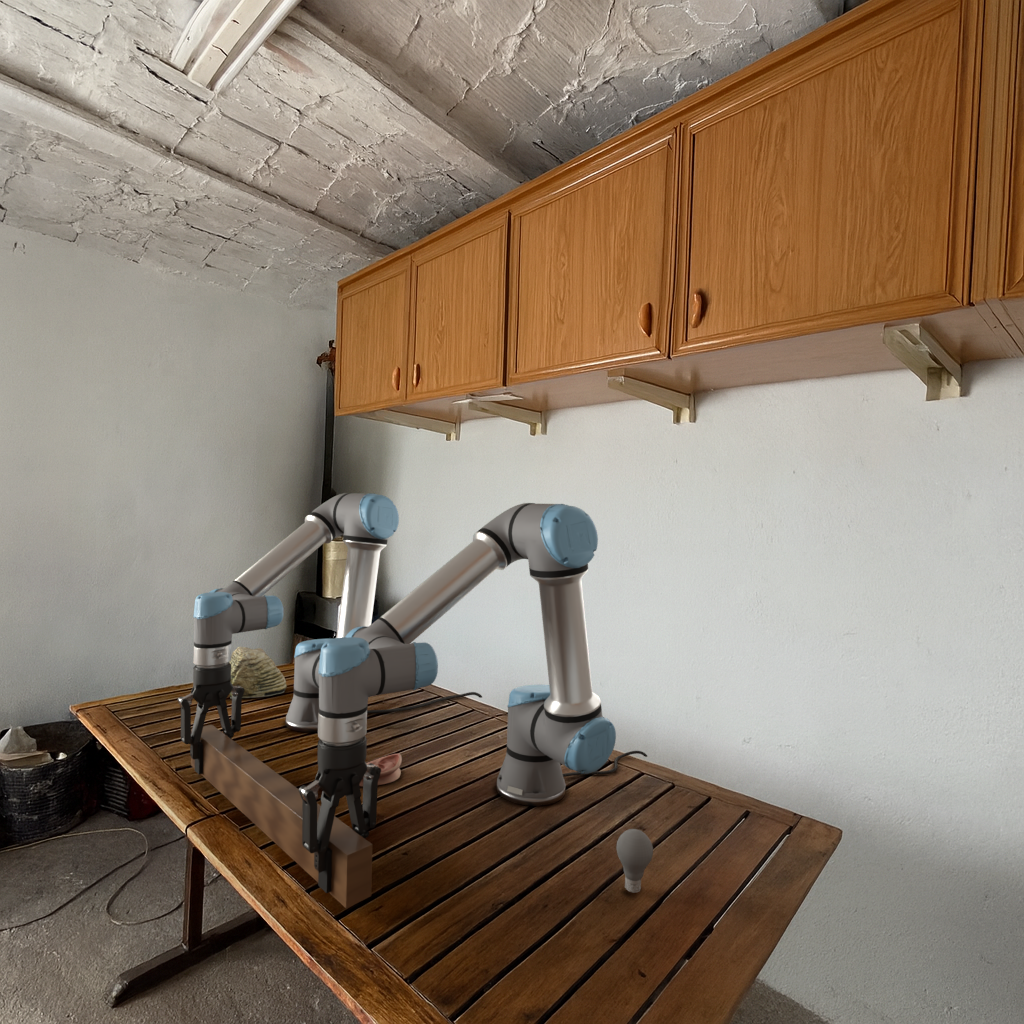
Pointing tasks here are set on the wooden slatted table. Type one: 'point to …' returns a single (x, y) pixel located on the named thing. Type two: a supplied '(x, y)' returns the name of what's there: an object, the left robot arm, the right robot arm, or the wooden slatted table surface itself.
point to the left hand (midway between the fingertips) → (211, 768)
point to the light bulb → (634, 857)
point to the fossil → (255, 673)
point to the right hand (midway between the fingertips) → (339, 881)
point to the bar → (284, 814)
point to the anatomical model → (387, 768)
